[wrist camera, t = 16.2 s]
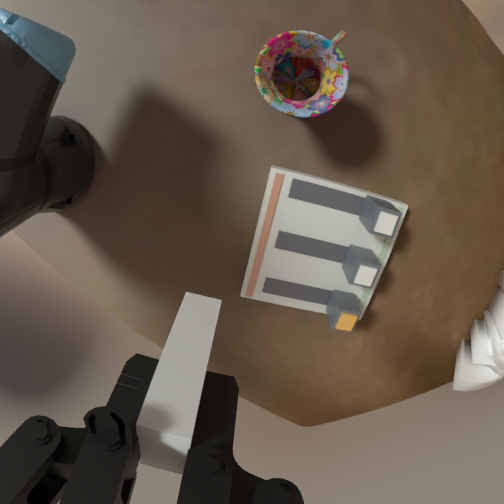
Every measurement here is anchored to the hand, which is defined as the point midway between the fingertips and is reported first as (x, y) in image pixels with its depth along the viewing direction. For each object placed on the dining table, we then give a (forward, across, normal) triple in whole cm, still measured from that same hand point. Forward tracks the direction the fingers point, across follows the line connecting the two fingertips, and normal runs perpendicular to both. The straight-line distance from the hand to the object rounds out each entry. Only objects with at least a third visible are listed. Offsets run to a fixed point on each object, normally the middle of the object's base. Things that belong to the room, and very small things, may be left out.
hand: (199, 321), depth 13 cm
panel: (+32, +13, -8) cm, 36 cm away
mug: (+32, +4, +15) cm, 36 cm away
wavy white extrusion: (+32, +55, -10) cm, 64 cm away
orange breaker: (+30, +18, -15) cm, 38 cm away
